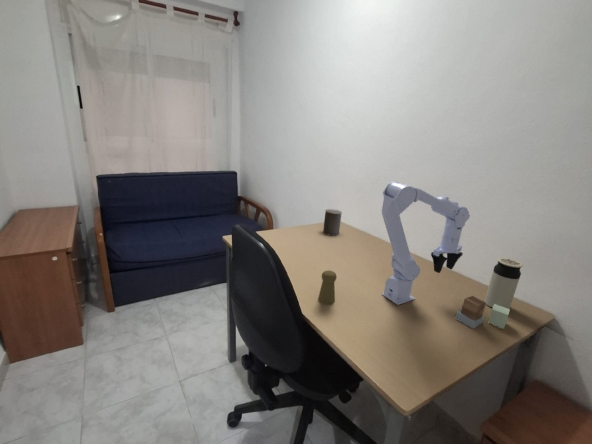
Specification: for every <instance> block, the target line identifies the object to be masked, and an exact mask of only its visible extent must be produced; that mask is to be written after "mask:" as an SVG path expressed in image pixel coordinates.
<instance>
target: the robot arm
mask: <svg viewBox="0 0 592 444" xmlns="http://www.w3.org/2000/svg"><path fill="white" fill-rule="evenodd" d="M382 195H383V202H382V206H381V215H382V218H383V223H384V225H385V228H386V232H387V235H388V238H389V242H390V245H391V248H392V254H391V267H392V268H393V270H392V271H393V274H392V275H391V277H388V278H387V279H386V281H385V286H384V292H382V293H381V295H382V296H383V297H385V298H387V299H388V300H390V301H391V302H393V303H394V304H396V305H397V306H399V305H402V304H405V303H408V302H411V301H414V300H415V299H416V298H415V297H414V296H413V295H411V293H412V288H413V284H414V281H415V279H417V278H418V277H419V275H420V273H421V268H420V266H419V265H418V264H417V262H416V259H415V258H414V257H413V255H412V254H411V253H410V249H409V245H408V242H407V238H406V234H405V231H404V227H403V223H402V220H401V216H400V215H401V214H402V213H403V212H404V211H405V210H407V209H408V208H409V207H410V206H411V205H412V204H413V203H416V202H418V201H420V202H422V203H424V204H427V205H429V206H430V208H431V210H432V211H433V212H435V213H436V214H438V215H441V216H443V217H444V218H445V224H444V227H443V231H442V236H441V241H440V245H438V247H436V248H435V249H433V251H431V253H430V257H431V258H432V261H433V271H434V272H435V273H438V274H441V271H442V269H443V266H444V264H445V263H446V264H445V267H446V268H447V269H449V270H453V269H454V267H455V265H456V263H457V262H458V261H459V259H460V258H461V257H462V256H463V252H462V248H463V246H462V245H460V244H459V243H460V239H461V235H462V231H463V228H464V226H465V225H466V222H468V220H469V219H470V216H471V215H470V211H469V209H468V208H467V207H465V206H462V205H459V202H457V201H452V200H450V197H448V196H445V195H443V196H436V197H435V196H434V195H431V194H430V193H428V192H426V191H425V190H423V189H421V188H418V187H415V186H412V185H409V184H404V183H400V182H398V181H391V182H389V183H388V184H387V186H386V187H385V188H384V190H383V191H382ZM445 254H446V256H445Z"/></svg>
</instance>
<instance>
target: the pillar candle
mask: <svg viewBox="0 0 592 444" xmlns="http://www.w3.org/2000/svg"><path fill="white" fill-rule="evenodd" d="M342 214H343V213H342V210H339V209H335V208H327V209H326V210H325V214H324V221H323V230H322V233H323V232H324V234H325V233H326V234H325V235H327V234H330V235H329V236H333V235H334V236H338V235H339V234H340V227H341V223H342V222H341V220H342ZM337 234H338V235H337Z"/></svg>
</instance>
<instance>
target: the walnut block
mask: <svg viewBox="0 0 592 444" xmlns="http://www.w3.org/2000/svg"><path fill="white" fill-rule="evenodd" d="M486 306H487V304H486V302H484V300H481V298H478V297H476V296H474V295H471V296H467V297H465V298H464V300H463V303H462V308H461V309H460V310H461V313H462V314H464V315H466V316H467V317H469V318H471V319H472V320H476V319H478V318H481V317H482V315H483V314H484V313H485V312H484V311H485V309H486ZM483 316H484V315H483Z"/></svg>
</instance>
